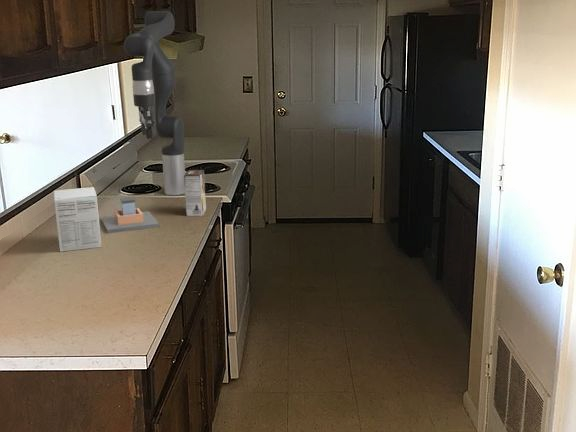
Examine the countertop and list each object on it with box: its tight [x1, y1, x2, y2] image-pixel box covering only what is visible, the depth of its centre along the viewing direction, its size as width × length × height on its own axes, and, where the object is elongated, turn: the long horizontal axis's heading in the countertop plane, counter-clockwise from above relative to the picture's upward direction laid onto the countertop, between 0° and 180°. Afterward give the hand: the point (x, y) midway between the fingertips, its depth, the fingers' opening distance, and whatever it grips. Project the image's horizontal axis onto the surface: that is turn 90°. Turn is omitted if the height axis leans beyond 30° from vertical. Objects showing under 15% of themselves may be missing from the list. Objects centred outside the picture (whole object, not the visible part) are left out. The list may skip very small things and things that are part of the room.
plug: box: [119, 196, 137, 216], centre depth 236 cm, size 4×4×8 cm
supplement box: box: [53, 186, 102, 253], centre depth 213 cm, size 13×13×18 cm
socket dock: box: [100, 207, 160, 234], centre depth 237 cm, size 18×18×4 cm
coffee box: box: [184, 169, 207, 217], centre depth 247 cm, size 9×6×16 cm
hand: (147, 136), depth 241 cm, fingers open, 8 cm apart
